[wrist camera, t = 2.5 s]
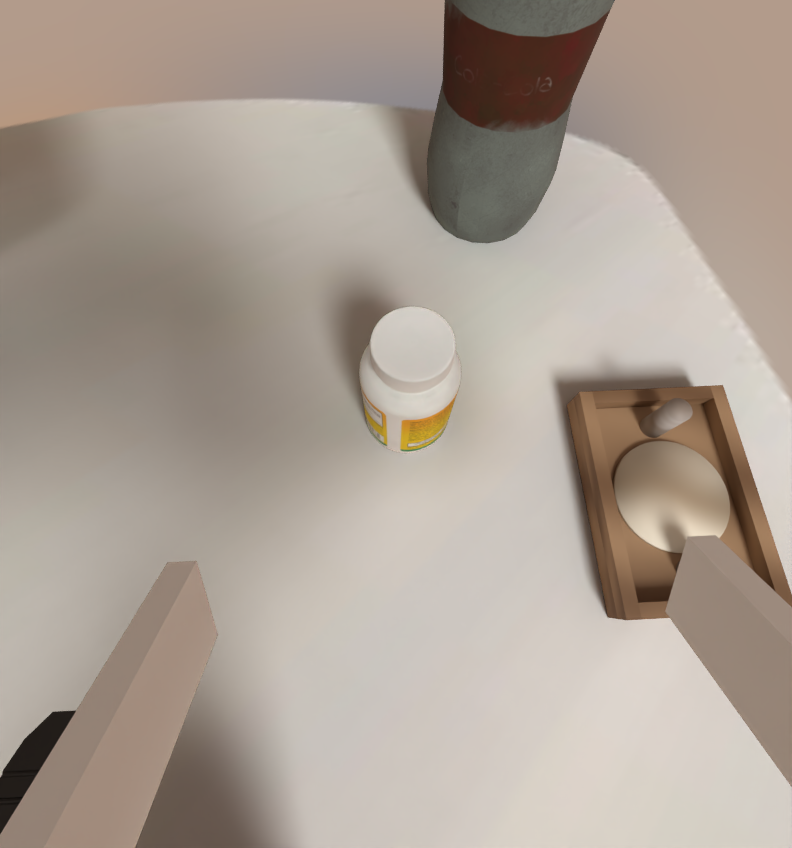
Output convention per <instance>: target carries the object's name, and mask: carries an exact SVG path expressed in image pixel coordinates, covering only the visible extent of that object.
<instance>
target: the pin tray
mask: <svg viewBox="0 0 792 848" xmlns="http://www.w3.org/2000/svg"><path fill="white" fill-rule="evenodd" d="M567 409H568V414H569V420H570V425H571V430H572V435H573V440H574V445H575V450H576V456H577V461H578V466H579V471H580V476H581V481H582V486H583V492H584V497H585V502H586V507H587V512H588V517H589V523H590V528H591V533H592V538H593V543H594V548H595V553H596V559H597V564H598V569H599V574H600V579H601V584H602V589H603V595H604V600H605V605H606V610H607V615H608V617H609V618H616V619H623V620H637V619H656V618H670V617H669V616H668V615H667V613H666V612H665V610H666V607H667V603H668V600H669V597H670V593H671V590H672V587H673V583H674V580H675V577H676V573H677V570H678V567H679V563H680V560H681V557H682V553H683V550H684V547H685V543H686V540H687V537H689V536H709V535H716V536H717V537H718V538H719V539H720V540H721V541H722V542H723V543H725V544H726V545H727V546H728V547H729V548H730V549H731V550H732V551H733V552H734V553H735V554H736V555H737V556H738V557H739V558H740V559H741V560H742V561H743V562H745V563H746V564H747V565H748V566H749V567H750V568H751V569H752V570H753V571H754V572H755V573H756V574H757V575H758V576H759V577H760V578H761V579H762V580H763V581H765V582H766V583H767V584H768V585H769V586H770V587H771V588H772V589H773V590H774V591H775V592H776V593H777V594H778V595H779V596H780V597H781V598H782V599H783V600H785V601H786V602H787V603H788V604H789V605H790V606H791V607H792V594H791V591H790V588H789V585H788V582H787V579H786V576H785V573H784V570H783V567H782V564H781V561H780V558H779V555H778V552H777V549H776V546H775V542H774V539H773V536H772V533H771V530H770V527H769V524H768V521H767V518H766V515H765V512H764V509H763V506H762V503H761V500H760V497H759V494H758V491H757V488H756V485H755V482H754V479H753V476H752V473H751V469H750V466H749V463H748V460H747V457H746V454H745V451H744V448H743V445H742V442H741V439H740V436H739V433H738V430H737V427H736V424H735V421H734V418H733V415H732V412H731V409H730V406H729V403H728V399H727V396H726V393H725V390H724V387H723V385H718V386H697V387H675V388H653V389H631V390H610V391H588V392H579V393H578V394H577V395H576V396H575V397H574V398H573V399H572V400H571V401H570V402H569V404H568V405H567Z"/></svg>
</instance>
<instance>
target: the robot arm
mask: <svg viewBox="0 0 792 848" xmlns="http://www.w3.org/2000/svg"><path fill="white" fill-rule="evenodd" d="M665 612H666V613H667V615H668V616H669V617H670V619H671V620H672V622H673V623H674V624H675V626H676V627H677V628H678V630H679V631H680V633H681V634H682V635H683V637H684V638H685V640H686V641H687V642H688V644H689V645H690V647H691V648H692V649H693V651H694V652H695V653H696V655H697V656H698V658H699V659H700V660H701V662H702V663H703V665H704V666H705V667H706V669H707V670H708V671H709V673H710V674H711V676H712V677H713V678H714V680H715V681H716V683H717V684H718V685H719V687H720V688H721V689H722V691H723V692H724V694H725V695H726V696H727V698H728V699H729V701H730V702H731V703H732V705H733V706H734V708H735V709H736V710H737V712H738V713H739V714H740V716H741V717H742V719H743V720H744V721H745V723H746V724H747V726H748V727H749V728H750V730H751V731H752V732H753V734H754V735H755V737H756V738H757V739H758V741H759V742H760V744H761V745H762V746H763V748H764V749H765V751H766V752H767V753H768V755H769V756H770V757H771V759H772V760H773V762H774V763H775V764H776V766H777V767H778V769H779V770H780V771H781V773H782V774H783V775H784V777H785V778H786V780H787V781H788V782H789V784H790V785H791V787H792V607H791V606H790V605H789V604H788V603H787V602H786V601H785V600H783V599H782V598H781V597H780V596H779V595H778V594H777V593H776V592H775V591H774V590H773V589H772V588H771V587H770V586H769V585H768V584H767V583H766V582H765V581H763V580H762V579H761V578H760V577H759V576H758V575H757V574H756V573H755V572H754V571H753V570H752V569H751V568H750V567H749V566H748V565H747V564H746V563H745V562H743V561H742V560H741V559H740V558H739V557H738V556H737V555H736V554H735V553H734V552H733V551H732V550H731V549H730V548H729V547H728V546H727V545H726V544H725V543H723V542H722V541H721V540H720V539H719V538H718V537H717V536H716V535H709V536H689V537H687V540H686V543H685V547H684V550H683V553H682V557H681V560H680V563H679V567H678V570H677V573H676V577H675V580H674V583H673V587H672V590H671V593H670V597H669V600H668V603H667V607H666V610H665ZM217 636H218V633H217V630H216V626H215V623H214V619H213V616H212V613H211V609H210V606H209V602H208V599H207V595H206V592H205V588H204V585H203V581H202V578H201V574H200V571H199V568H198V564H197V561H188V562H168V563H167V564H166V566H165V567H164V569H163V571H162V572H161V574H160V576H159V577H158V579H157V580H156V582H155V584H154V585H153V587H152V589H151V590H150V592H149V593H148V595H147V597H146V598H145V600H144V602H143V603H142V605H141V606H140V608H139V610H138V611H137V613H136V615H135V616H134V618H133V619H132V621H131V623H130V624H129V626H128V628H127V629H126V631H125V632H124V634H123V636H122V637H121V639H120V641H119V642H118V644H117V645H116V647H115V649H114V650H113V652H112V654H111V655H110V657H109V658H108V660H107V662H106V663H105V665H104V667H103V668H102V670H101V671H100V673H99V675H98V676H97V678H96V680H95V681H94V683H93V684H92V686H91V688H90V689H89V691H88V693H87V694H86V696H85V697H84V699H83V701H82V702H81V704H80V706H79V707H78V709H77V711H60V712H52V713H51V714H50V715H49V716H48V717H47V718H46V719H45V720H44V721H43V722H42V723H41V724H40V725H39V726H38V727H37V728H36V729H35V730H34V731H33V732H32V733H31V734H29V735H28V736H27V737H26V738H25V739H24V741H23V742H22V744H21V745H20V747H19V748H18V750H17V751H16V752H15V754H14V755H13V757H12V758H11V760H10V761H9V763H8V764H7V766H6V767H5V769H4V770H3V774H2V776H1V778H0V848H135V847H136V844H137V842H138V839H139V837H140V834H141V831H142V829H143V826H144V824H145V821H146V818H147V816H148V813H149V811H150V808H151V806H152V803H153V800H154V798H155V795H156V793H157V790H158V788H159V785H160V782H161V780H162V777H163V775H164V772H165V770H166V767H167V764H168V762H169V759H170V757H171V754H172V752H173V749H174V746H175V744H176V741H177V739H178V736H179V734H180V731H181V728H182V726H183V723H184V721H185V718H186V716H187V713H188V710H189V708H190V705H191V703H192V700H193V697H194V695H195V692H196V690H197V687H198V685H199V682H200V679H201V677H202V674H203V672H204V669H205V667H206V664H207V661H208V659H209V656H210V654H211V651H212V649H213V646H214V643H215V641H216V638H217Z"/></svg>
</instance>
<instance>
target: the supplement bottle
mask: <svg viewBox="0 0 792 848" xmlns="http://www.w3.org/2000/svg"><path fill="white" fill-rule="evenodd" d="M455 349H456V342H455V336H454V333H453V330H452V328H451V326H450V325H449V324H448V322H447V321H446V320H445V319H444V318H443V317H442V316H441V315H439V314H438V313H436V312H434V311H432V310H430V309H427V308H424V307H417V306H408V307H402V308H398V309H395V310H393V311H391V312H389V313H387V314H386V315H385V316H383V317H382V318H381V319H380V320H379V321H378V323H377V324H376V326H375V327H374V329H373V331H372V334H371V338H370V343H369V344H368V346H367V347H366V349H365V351H364V353H363V355H362V358H361V361H360V367H359V378H360V385H361V391H362V397H363V403H364V410H365V417H366V421H367V425H368V428H369V430H370V432H371V434H372V435H373V437H374V438H375V439H376V440H377V441H378V442H379V443H380V444H381V445H383V446H384V447H386V448H388V449H390V450H392V451H396V452H401V453H413V452H417V451H420V450H423V449H425V448H427V447H429V446H431V445H432V444H434V443H435V442H436V441H437V440H438V439H439V438H440V437H441V435H442V433H443V432H444V430H445V427H446V425H447V422H448V419H449V416H450V413H451V410H452V407H453V404H454V401H455V398H456V395H457V392H458V389H459V386H460V382H461V363H460V359H459V356H458V354H457V352H456V350H455Z"/></svg>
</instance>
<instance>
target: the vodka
mask: <svg viewBox="0 0 792 848" xmlns="http://www.w3.org/2000/svg"><path fill="white" fill-rule="evenodd" d="M614 1H615V0H445V14H444V55H443V82H442V86H441V91H440V95H439V99H438V104H437V108H436V113H435V117H434V122H433V127H432V133H431V138H430V143H429V148H428V157H427V174H428V192H429V196H430V200H431V204H432V208H433V211H434V214H435V217H436V219H437V220H438V222H439V223H440V224H441V225H442V227H443V228H444V229H445V230H446V231H448V232H450V233H451V234H453V235H454V236H456V237H457V238H460V239H464V240H467V241H470V242H477V243H491V242H496V241H501V240H505V239H507V238H509V237H510V236H512V235H514V234H516V233H517V232H518V231H519V230H520V229H521V228H522V227H523V226H524V225H525V224H526V223H527V222H528V220H529V219H530V218H531V217H532V215H533V214H534V213H535V212H536V210H537V208H538V206H539V204H540V202H541V200H542V199H543V197H544V195H545V193H546V191H547V189H548V187H549V185H550V183H551V181H552V178H553V176H554V173H555V171H556V168H557V164H558V160H559V156H560V152H561V148H562V143H563V139H564V135H565V131H566V126H567V121H568V116H569V112H570V107H571V102H572V98H573V95H574V92H575V90H576V88H577V85H578V83H579V81H580V79H581V76H582V74H583V72H584V69H585V67H586V65H587V62H588V60H589V58H590V55H591V53H592V51H593V48H594V46H595V44H596V42H597V39H598V37H599V35H600V32H601V30H602V28H603V25H604V23H605V21H606V19H607V16H608V14H609V12H610V9H611V7H612V5H613V3H614Z"/></svg>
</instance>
